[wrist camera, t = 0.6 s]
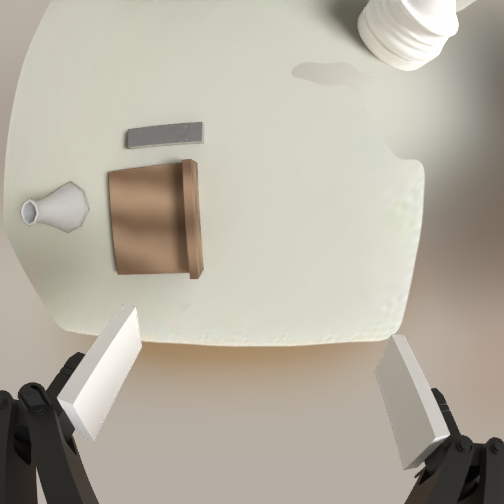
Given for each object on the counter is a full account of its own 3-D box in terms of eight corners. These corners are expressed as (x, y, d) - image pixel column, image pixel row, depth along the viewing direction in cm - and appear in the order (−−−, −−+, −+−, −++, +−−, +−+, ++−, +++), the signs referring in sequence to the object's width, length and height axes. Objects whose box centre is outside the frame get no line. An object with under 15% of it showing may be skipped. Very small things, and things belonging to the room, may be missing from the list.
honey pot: (389, 80, 34) (459, 32, 16) (341, 15, 32) (382, -54, 14) (439, 60, 33) (505, 23, 15) (395, 2, 31) (444, -51, 13)
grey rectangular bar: (133, 132, 36) (128, 129, 34) (204, 125, 36) (202, 122, 34) (132, 149, 36) (127, 147, 34) (204, 143, 36) (202, 141, 34)
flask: (73, 172, 36) (31, 170, 26) (97, 209, 37) (58, 216, 27) (45, 204, 37) (4, 210, 27) (68, 241, 38) (28, 254, 28)
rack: (113, 172, 36) (98, 170, 32) (197, 162, 36) (190, 159, 32) (122, 271, 39) (108, 280, 35) (203, 269, 39) (198, 278, 35)
